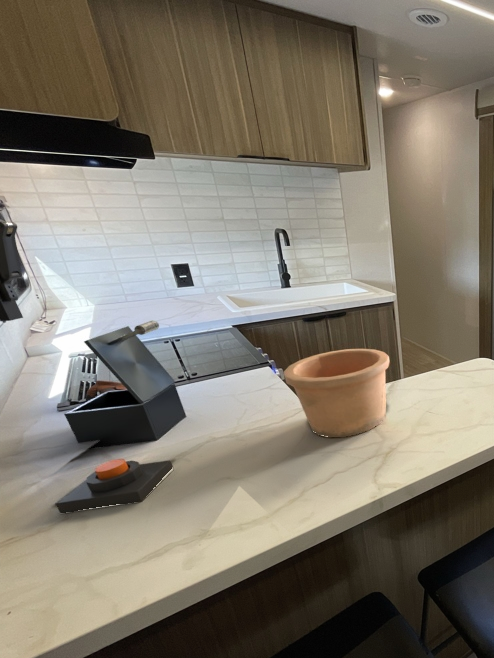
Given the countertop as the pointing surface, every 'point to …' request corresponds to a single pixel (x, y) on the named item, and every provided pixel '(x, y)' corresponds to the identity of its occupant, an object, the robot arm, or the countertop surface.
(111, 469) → the button
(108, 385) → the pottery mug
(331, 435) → the pottery
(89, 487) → the panel
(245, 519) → the countertop surface
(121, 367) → the lid
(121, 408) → the dark grey box
